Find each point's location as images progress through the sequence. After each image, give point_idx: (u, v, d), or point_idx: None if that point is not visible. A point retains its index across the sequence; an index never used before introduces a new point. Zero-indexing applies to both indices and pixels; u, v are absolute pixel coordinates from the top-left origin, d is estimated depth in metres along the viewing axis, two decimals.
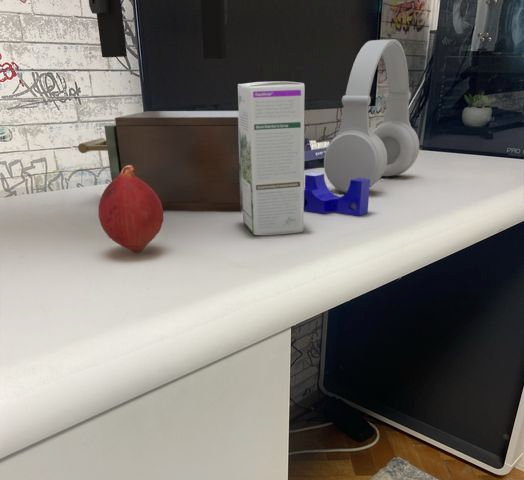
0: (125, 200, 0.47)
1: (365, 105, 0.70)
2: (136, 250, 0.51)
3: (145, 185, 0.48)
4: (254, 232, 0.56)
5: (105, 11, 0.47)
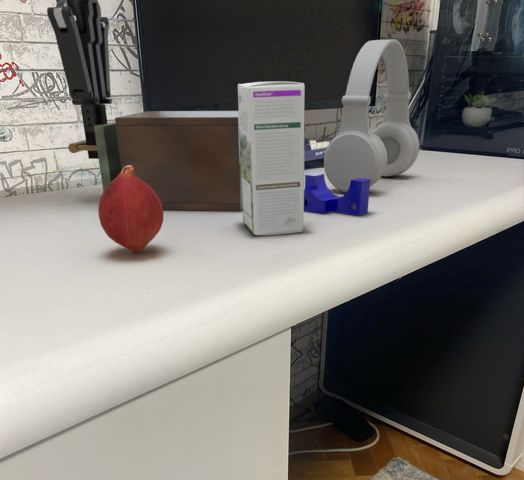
0: (125, 200, 0.47)
1: (365, 105, 0.70)
2: (136, 250, 0.51)
3: (145, 185, 0.48)
4: (254, 232, 0.56)
5: None
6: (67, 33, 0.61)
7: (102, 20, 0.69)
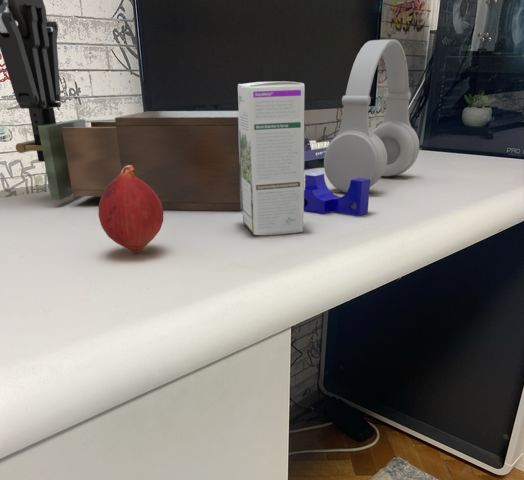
0: (125, 200, 0.47)
1: (365, 105, 0.70)
2: (136, 250, 0.51)
3: (145, 185, 0.48)
4: (254, 232, 0.56)
5: None
6: (9, 38, 0.62)
7: (50, 24, 0.70)
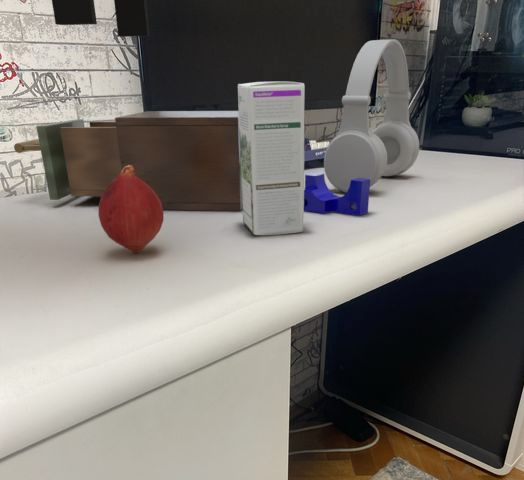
0: (125, 200, 0.47)
1: (365, 105, 0.70)
2: (136, 250, 0.51)
3: (145, 185, 0.48)
4: (254, 232, 0.56)
5: None
6: None
7: None
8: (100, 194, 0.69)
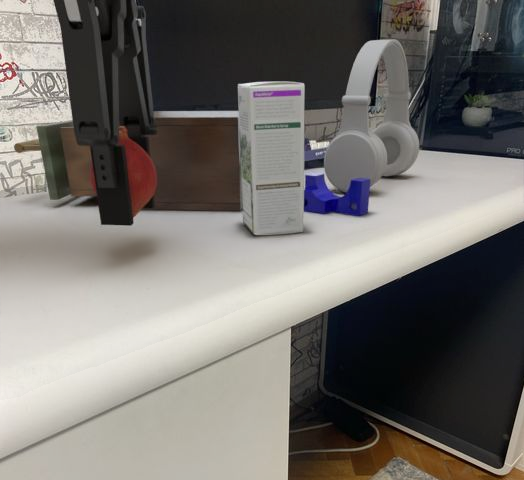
0: None
1: (365, 105, 0.70)
2: None
3: (138, 147, 0.47)
4: (254, 232, 0.56)
5: (116, 186, 0.45)
6: (81, 30, 0.38)
7: None
8: None
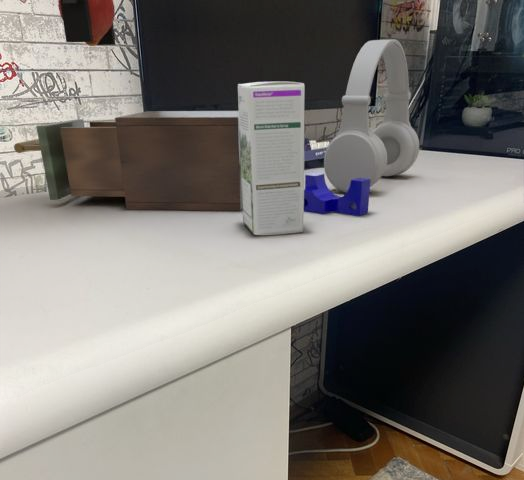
0: None
1: (365, 105, 0.70)
2: None
3: None
4: (254, 232, 0.56)
5: (77, 2, 0.54)
6: None
7: None
8: (100, 194, 0.69)
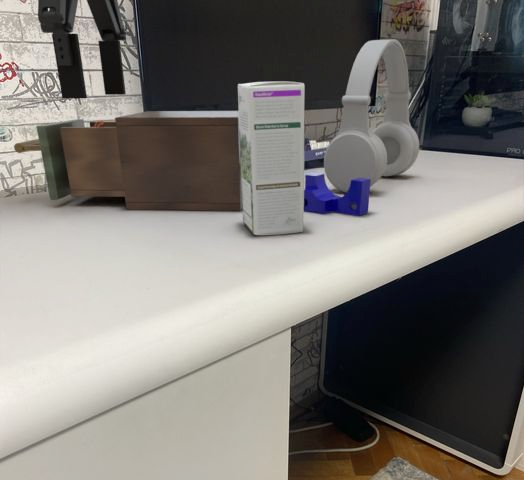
0: None
1: (365, 105, 0.70)
2: None
3: None
4: (254, 232, 0.56)
5: (71, 64, 0.60)
6: None
7: None
8: (100, 194, 0.69)
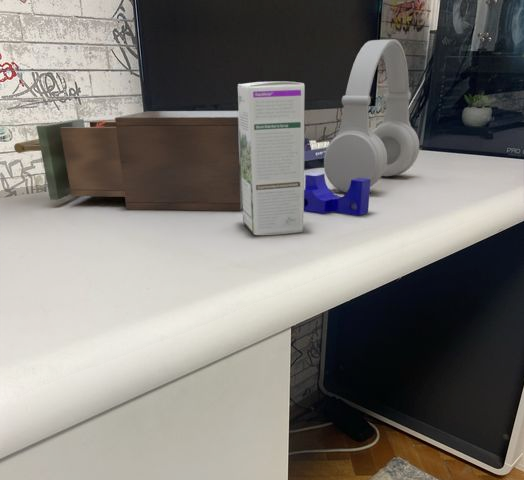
0: None
1: (365, 105, 0.70)
2: None
3: None
4: (254, 232, 0.56)
5: None
6: None
7: None
8: (100, 194, 0.69)
